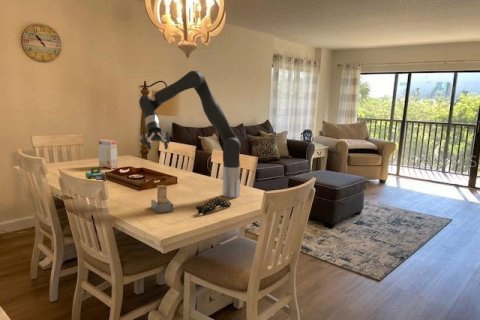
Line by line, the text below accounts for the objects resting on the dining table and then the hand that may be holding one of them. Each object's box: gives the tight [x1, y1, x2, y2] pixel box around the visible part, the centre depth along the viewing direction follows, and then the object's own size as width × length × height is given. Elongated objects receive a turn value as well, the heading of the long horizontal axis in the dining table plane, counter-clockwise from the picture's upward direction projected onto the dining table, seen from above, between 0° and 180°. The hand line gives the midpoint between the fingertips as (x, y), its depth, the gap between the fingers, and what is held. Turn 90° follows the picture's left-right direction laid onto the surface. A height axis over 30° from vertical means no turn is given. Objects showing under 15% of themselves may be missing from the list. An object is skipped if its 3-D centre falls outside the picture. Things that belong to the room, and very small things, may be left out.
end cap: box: [150, 198, 174, 214], centre depth 173 cm, size 11×8×4 cm
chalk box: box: [85, 166, 107, 182], centre depth 196 cm, size 9×9×15 cm
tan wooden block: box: [156, 184, 168, 205], centre depth 172 cm, size 4×4×11 cm
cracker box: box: [98, 138, 118, 169], centre depth 264 cm, size 14×6×21 cm, turn 58°
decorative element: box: [195, 196, 232, 216], centre depth 174 cm, size 22×5×6 cm, turn 141°
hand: (158, 148), depth 186 cm, fingers open, 8 cm apart
